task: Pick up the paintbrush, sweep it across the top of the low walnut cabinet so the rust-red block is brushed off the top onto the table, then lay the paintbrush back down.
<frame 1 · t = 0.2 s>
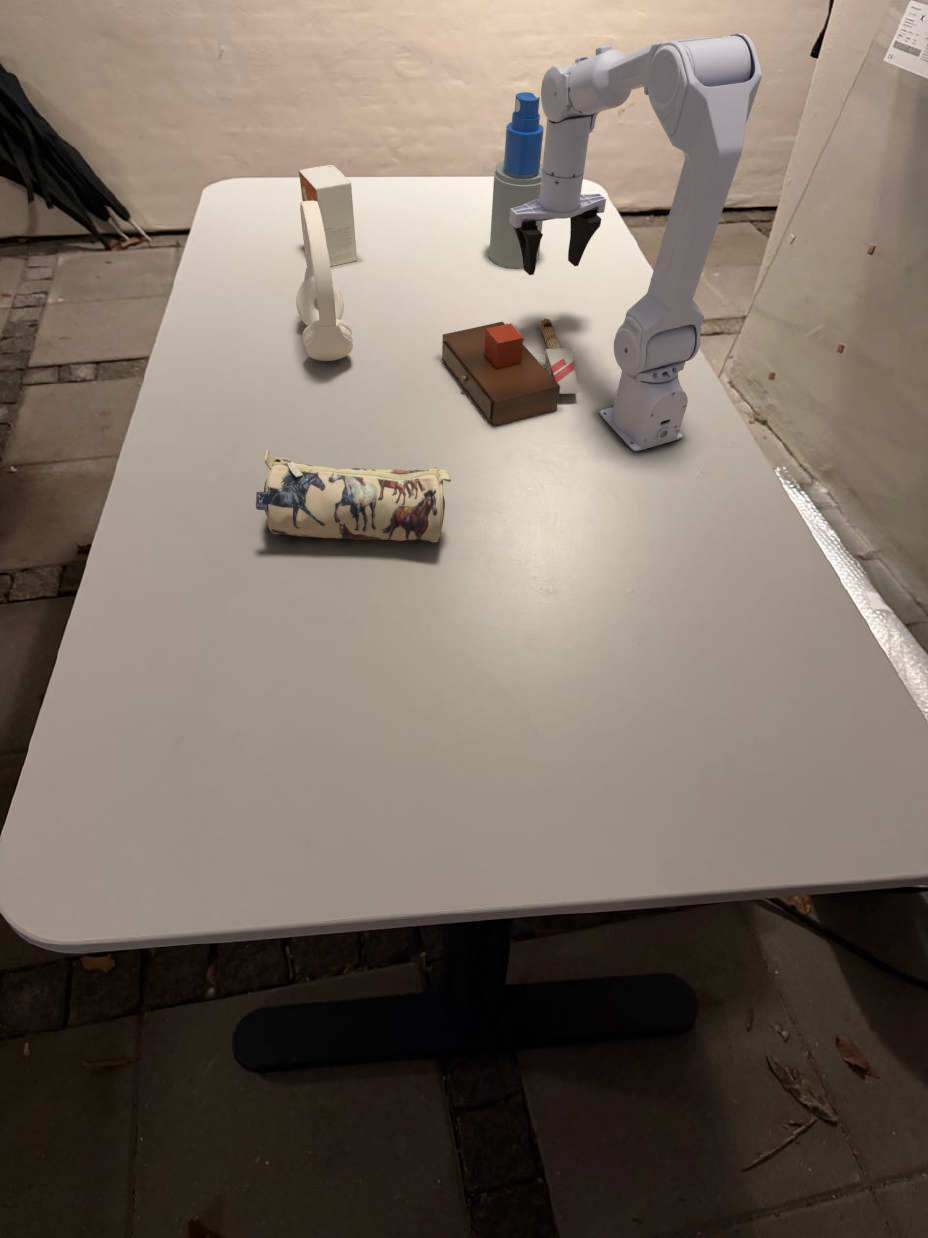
hand: (551, 267, 116), 10 cm above the table, tool pointing down, fingers open, 7 cm apart
cabinet: (497, 383, 114), on the table
block: (502, 358, 111), point 4 cm above the table, touching cabinet
pencil case: (359, 530, 94), on the table
headphones: (326, 345, 119), on the table
paintbrush: (555, 365, 118), on the table
small box: (332, 255, 137), on the table
spray bottle: (513, 257, 139), on the table
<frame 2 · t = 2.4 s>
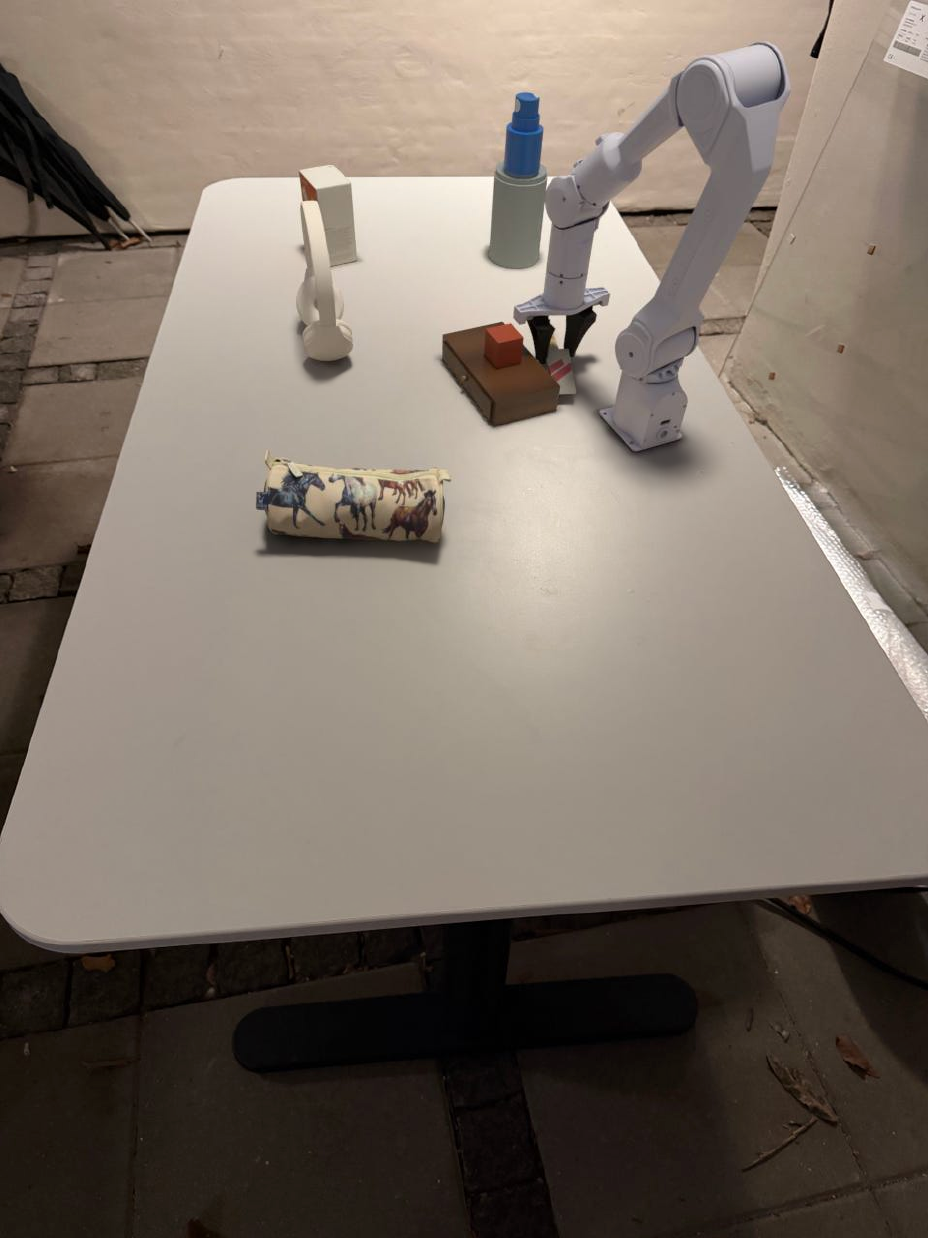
hand: (554, 357, 116), 1 cm above the table, tool pointing down, fingers closed on paintbrush, 4 cm apart
paintbrush: (553, 365, 118), on the table, touching gripper
everything else where it was.
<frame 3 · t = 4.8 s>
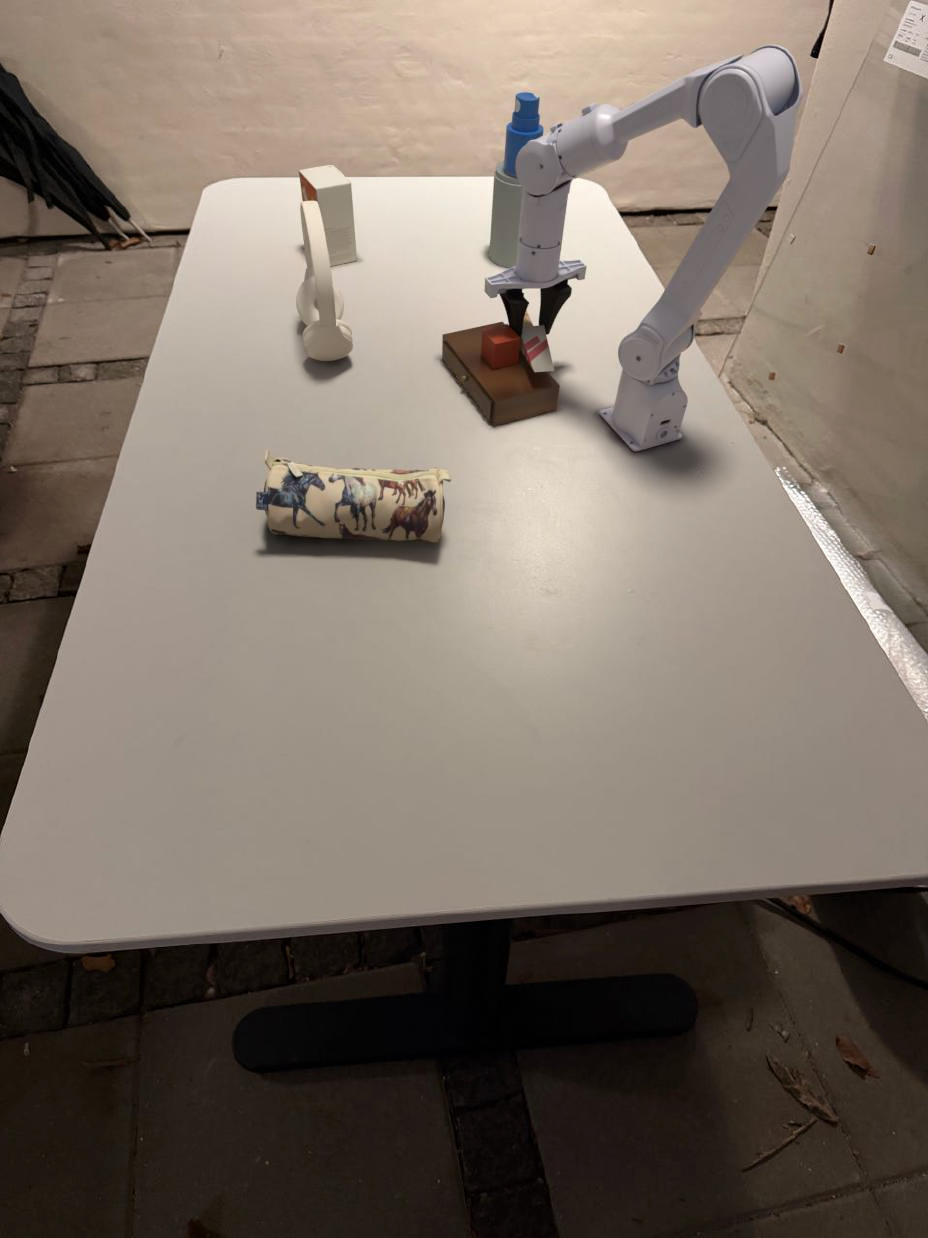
hand: (529, 334, 111), 6 cm above the table, tool pointing down, fingers closed on paintbrush, 4 cm apart
block: (499, 359, 111), point 4 cm above the table, touching gripper
paintbrush: (529, 343, 113), point 5 cm above the table, touching gripper
everything else where it was.
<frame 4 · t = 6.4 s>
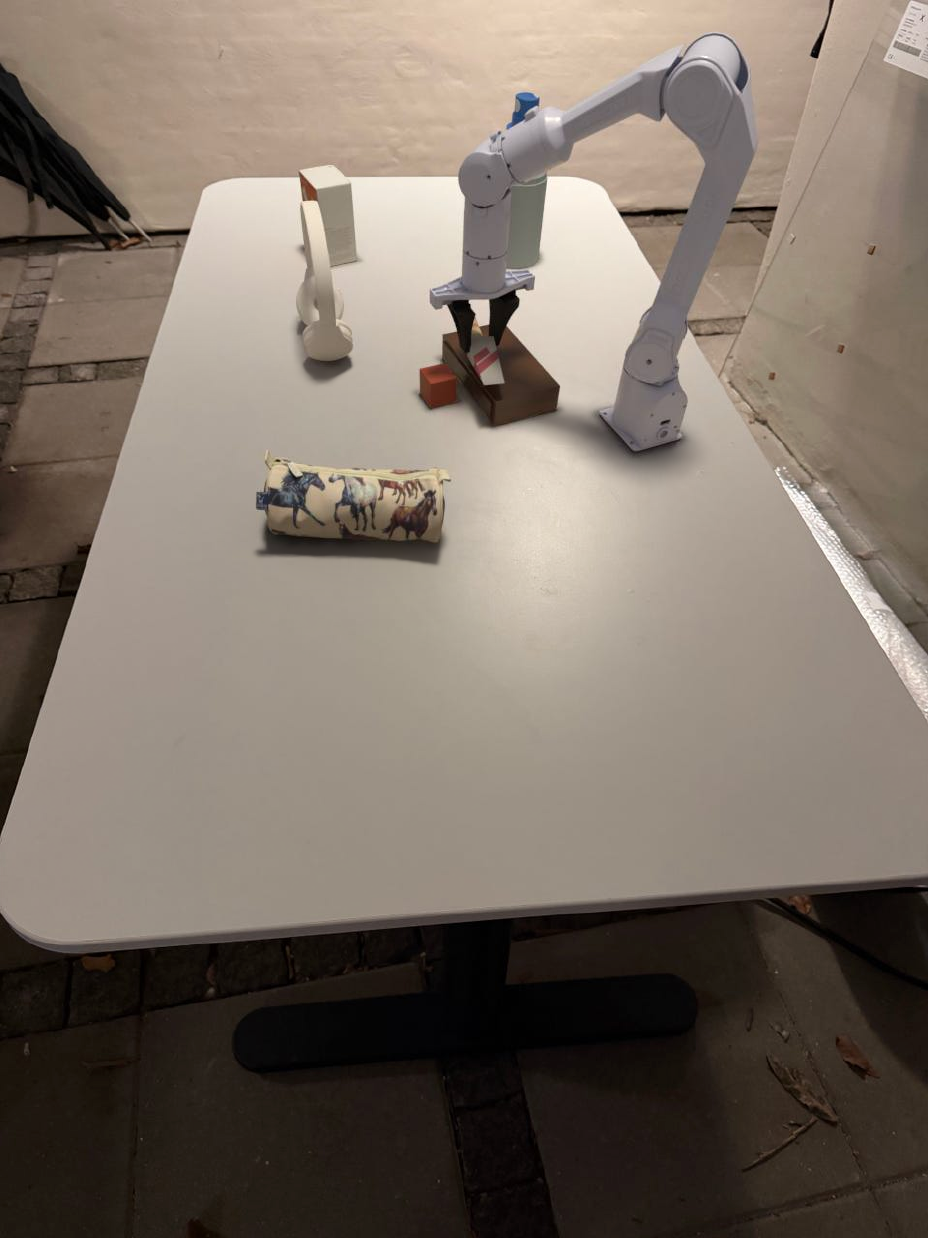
hand: (479, 345, 109), 6 cm above the table, tool pointing down, fingers closed on paintbrush, 4 cm apart
block: (450, 382, 110), point 2 cm above the table, tilted 90°
paintbrush: (479, 354, 110), point 5 cm above the table, touching gripper
everything else where it was.
when the fingers open (1 cm above the table, at t = 11.6 s): paintbrush stays where it is, on the table.
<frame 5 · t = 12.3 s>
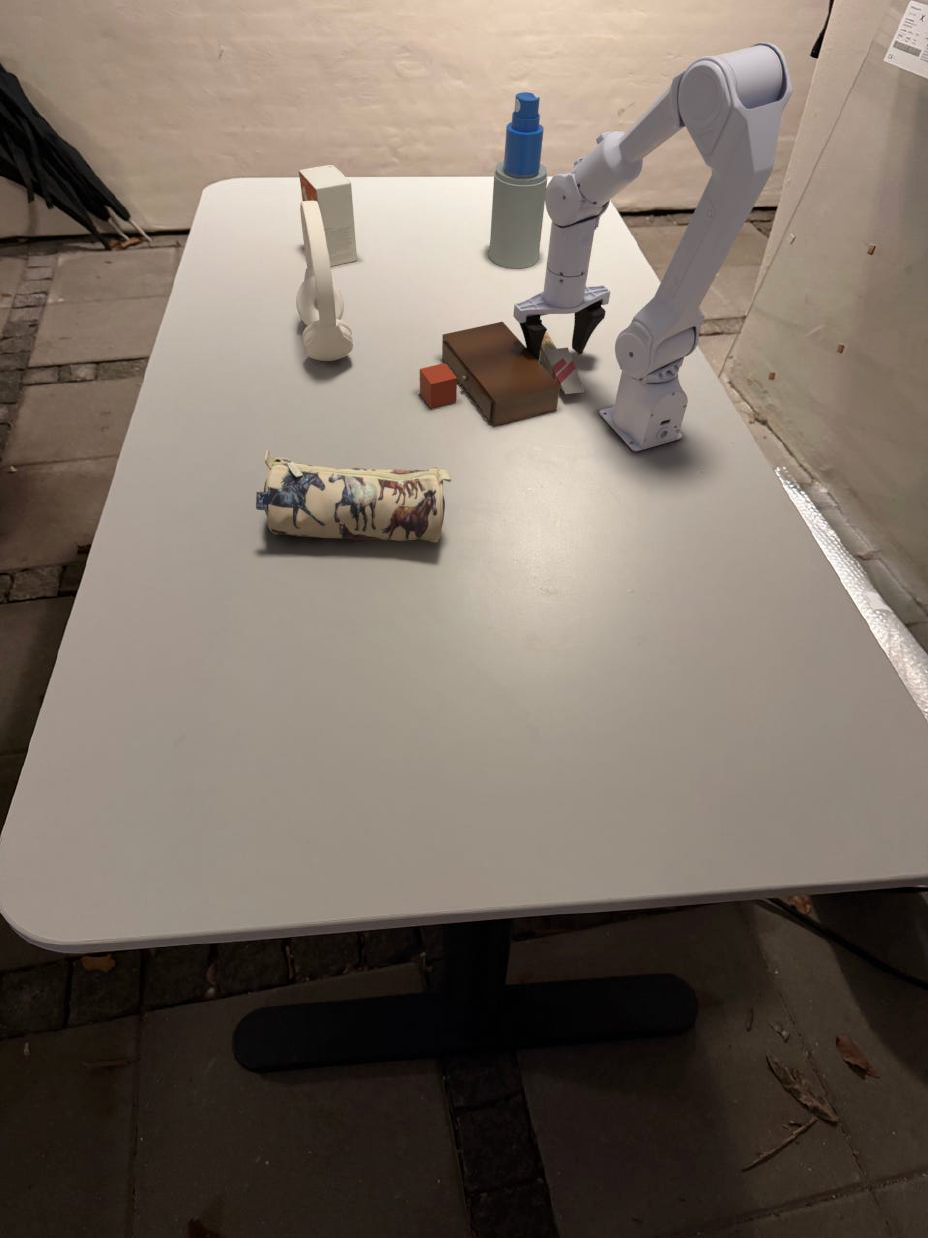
hand: (555, 355, 116), 2 cm above the table, tool pointing down, fingers open, 7 cm apart
paintbrush: (553, 365, 118), on the table
everything else where it was.
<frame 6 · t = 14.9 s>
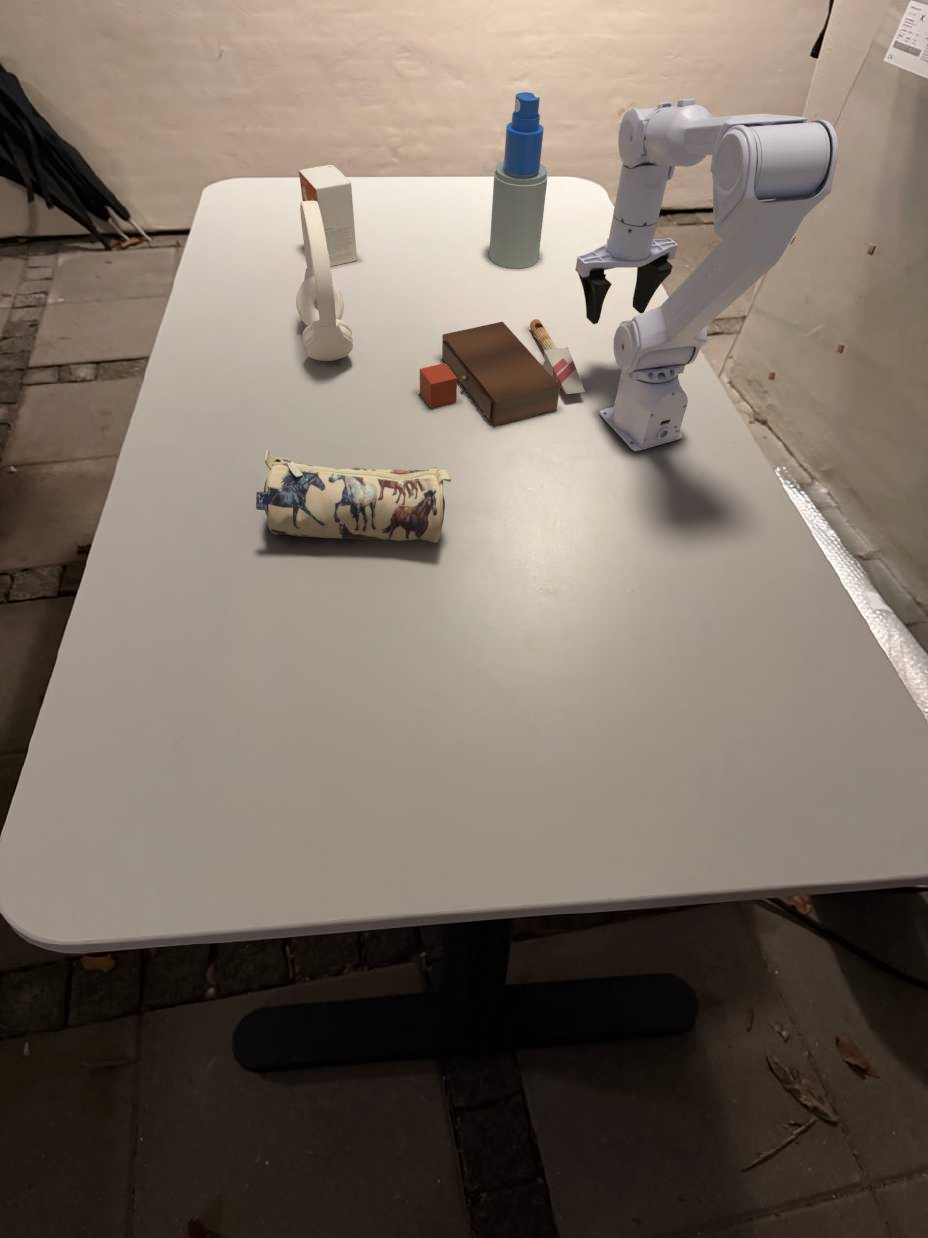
hand: (615, 314, 109), 9 cm above the table, tool pointing down, fingers open, 7 cm apart
nothing on the table moved.
at the end: block touching table; block inside the target area (3.8 cm from its centre), point 2.0 cm above the table; the gripper is holding nothing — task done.
